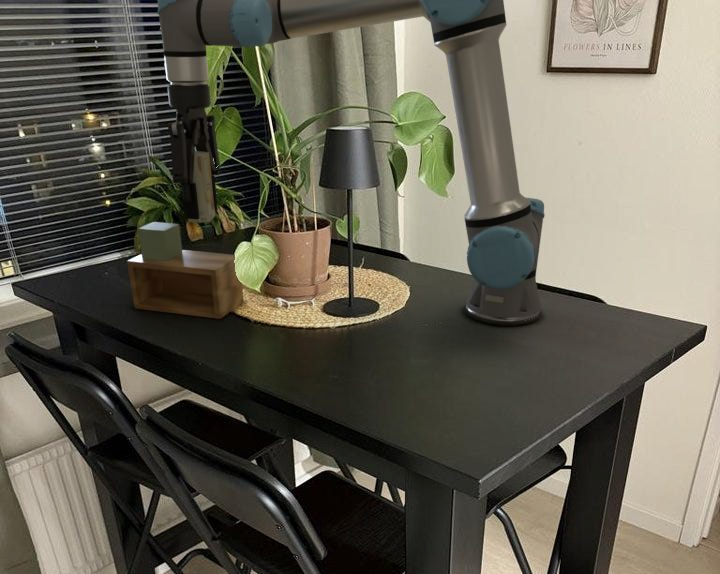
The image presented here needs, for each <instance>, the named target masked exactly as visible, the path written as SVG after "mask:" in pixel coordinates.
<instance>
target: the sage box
mask: <svg viewBox="0 0 720 574" xmlns="http://www.w3.org/2000/svg"><path fill="white" fill-rule="evenodd" d="M180 229H181V228H180V224H179V223H171V222H161V221H160V222H159V221H152V222H150V223H147V224H145V225H143V226H140V227H138V228H137V232H138V240H139V246H140V252H141V254H142V258H143V259H153V260H163V261H169V260H171V259H173V258H175V257H176V256H178V255H180V254H182V250H183V244H182V238H181V237H182V236H181V230H180Z"/></svg>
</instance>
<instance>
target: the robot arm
mask: <svg viewBox="0 0 720 574" xmlns="http://www.w3.org/2000/svg"><path fill="white" fill-rule="evenodd" d="M157 15H158V18H159V26H160V34H161V40H162V47H163V48H162V49H163V56H164V57H163V58H164V62H163V66H164V68H165V76H166V81H168V82H169V84H168V85H167V96H168V105H169V107H171V108H172V109H175V111H176V118H175V122H168V124H167V130H168V133H169V140H170V153H171V169H172V170H171V172H172V181H174V182H175V183H176V184H180V187H181V188H180V189H181V196H182V205H183V213H184V219H187V220H188V219H197V220H198V219H199V210H198V201H197V191H196V183H193V169H194V153H195V151H203V152H209V159H210V166H211V177H212V187H213V197H214V207H215V212H217V211H218V198H217V189H216V188H217V187H216V176H219V175H220V172H221V171H220V169H221V165H220V164H221V163H220V156H219V149H218V142H217V135H216V117H215V115H213V114H207V112H206V109H207V108H210V106H212V101H211V88H210V85H209V84H208V83H207V82H208V81H209V80H210V77H209V67H208V55H207V46H208V47H212V46H219V47H243V48H247V49H249V48H255V47H263V46H266V45H269V44H275V43H278V42H282V41H288V40H293V39H296V38H304V37H309V36H315V35H321V34H327V33H333V32H340V31H346V30H350V29H357V28H363V27H369V26H375V25H381V24H387V23H392V22H399V21H404V20H410V19H411V20H412V19H417V18H425V20H426V21H428V23H430V27H431V34H432V38H433V39H432V40H433V44H434V45H433V46H434V47H436V48H438V49H439V50H440V51H442V52H443V53H444V55H445V58H446V63H447V64H446V65H447V70H448V76H449V83H450V87H451V89H450V90H451V94H452V99H453V105H454V112H455V118H456V123H457V130H458V137H459V141H460V146H461V154H462V160H463V165H464V171H465V178H466V183H467V189H468V194H469V202H470V206H469V207H468V209H467V210H466V212H465V213H464V223H465V230H466V235H467V243H468V246H467V251H466V263H467V267H468V271H469V273H470V274H471V276H472V278H473V279H474V282H473V284H472V287H471V289H470V292H469V293H468V296H467V298H466V302H465V315H467V316H468V317H469V318H471V319H473V320H474V321H478V322H479V323H484V324H489V325H492V326H494V325H495V326H506V327H507V326H508V327H509V326H510V327H511V326H513V327H514V326H523V325H527V324H531V323H534V322H535V321H537V320H539V318H540V316H541V310H542V309H541V308H542V306H541V299H540V296H539V290H538V285H537V279H536V277H537V269H538V262H539V255H540V254H539V253H540V248H541V247H540V246H541V239H542V238H541V237H542V230H543V222H544V219H545V202H544V201H542V199H538V198H534V197H525V196H524V195H523V194H522V193H521V192H520V185H519V178H518V170H517V163H516V155H515V148H514V141H513V135H512V127H511V120H510V119H511V118H510V113H509V112H510V111H509V107H508V105H509V104H508V97H507V91H506V84H505V83H506V82H505V76H504V68H503V61H502V54H501V48H500V47H501V45H500V37H501V36H502V35H503V32H504V30H505V28H506V27H507V18H506V9H505V3H504V0H157ZM213 158H214V161H213ZM214 163H215V164H214ZM218 165H219V166H218ZM217 166H218V167H217ZM216 167H217V168H216ZM539 313H540V314H539ZM538 314H539V315H538ZM537 315H538V316H537ZM536 316H537V317H536ZM534 317H535V318H534ZM532 318H533V319H532ZM529 319H530V320H529ZM525 320H526V321H525Z"/></svg>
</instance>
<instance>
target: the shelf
mask: <svg viewBox="0 0 720 574" xmlns="http://www.w3.org/2000/svg"><path fill="white" fill-rule="evenodd" d="M235 255H236V254H229V253H219V252H210V251H200V250H199V251H198V250H189V249H182V254H180V255H178V256H176V257H175V258H173V259H171V260H169V261H163V260H153V259H143V258H142V254H139V255H137V256H133V257H132V258H130V259H128V260H126V263H127V269H128V270H127V271H128V275H129V282H130V288H131V289H130V290H131V294H132V301H133V307H134V309H138V310H144V311H153V312H160V313H168V314H176V315H184V316H193V317H202V318H208V319H217V320H221V319H223V318H224V317H225V316H226V315H228V314H230V313H231V312H232V311H233V310H235V309H236V308H237V307H239V306H240V305H241V304H244V290H243V282H242V283H241V282H240V281H239V280H238V278H237V276H236V272H235V263H234V260H235Z"/></svg>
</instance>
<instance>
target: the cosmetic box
mask: <svg viewBox="0 0 720 574" xmlns="http://www.w3.org/2000/svg"><path fill="white" fill-rule="evenodd" d="M193 183H196V191H197V201H198V210H199V219H198V220H197V219H187V220H188V223H210V222H212V221H213V219H214V218H215V217H216V211H215V207H214V197H213V187H212V177H211V166H210V159H209V152H203V151H196V150H195V153H194V169H193Z"/></svg>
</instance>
